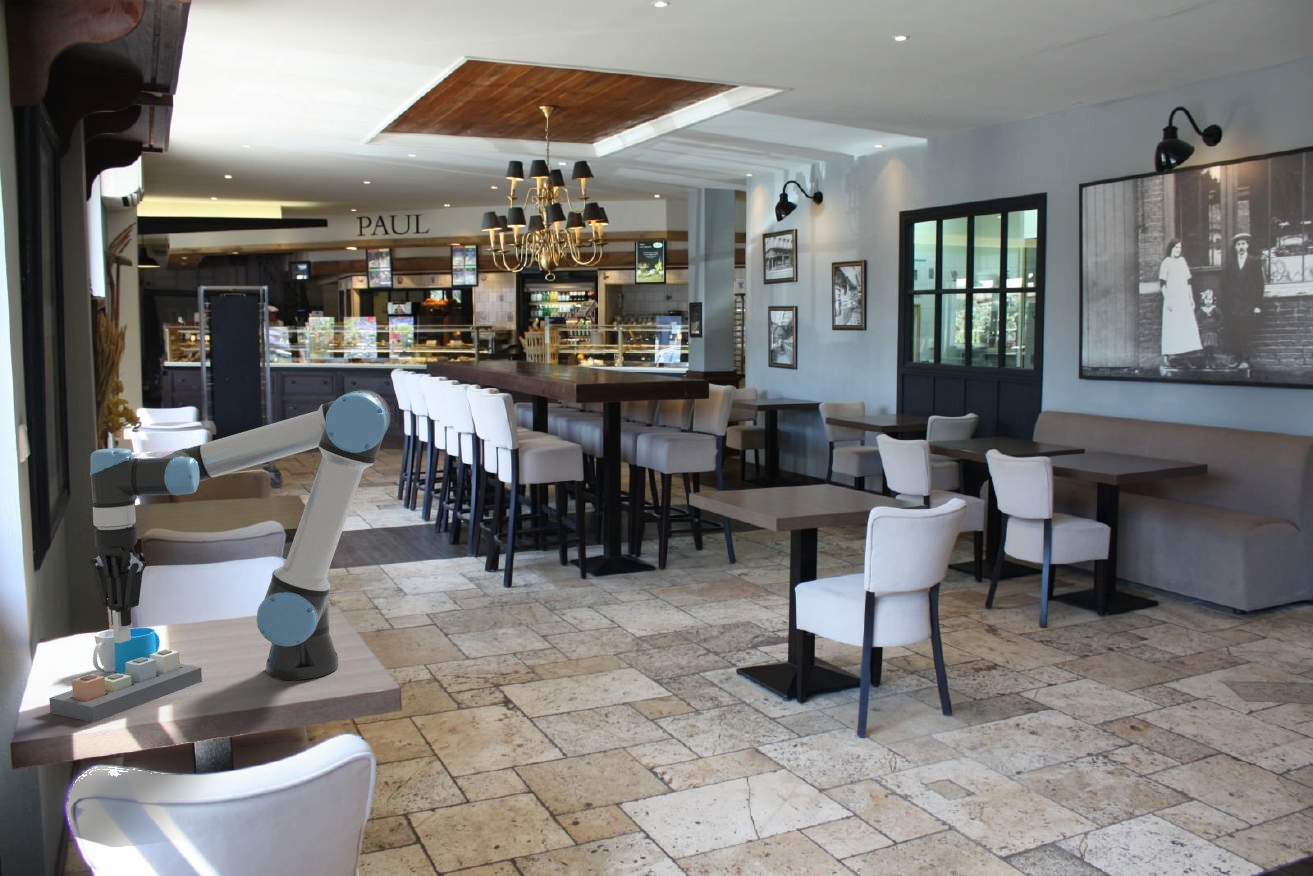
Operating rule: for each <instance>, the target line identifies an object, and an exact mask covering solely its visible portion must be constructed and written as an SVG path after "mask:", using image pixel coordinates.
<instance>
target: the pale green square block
mask: <svg viewBox="0 0 1313 876" xmlns="http://www.w3.org/2000/svg"><path fill="white" fill-rule="evenodd" d="M104 677H105V690H106V691H111V692H116V691H119V690H121V689H124V688H127V687H130V686H132V684H131V676H129V675H124V674H118V673H116V672H115V673H114V674H111V675H108V676H104Z"/></svg>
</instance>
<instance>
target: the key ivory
mask: <svg viewBox="0 0 1313 876" xmlns="http://www.w3.org/2000/svg"><path fill="white" fill-rule="evenodd" d="M150 659H154V660H156V673H161V674H166V673H169V672H172V671H175V670H178V669H180V664H181V661H180V659H181V658H180V651H177V650H171V649H163V650H160V651H159V650H158V652H156V653H153V654H150Z"/></svg>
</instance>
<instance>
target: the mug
mask: <svg viewBox="0 0 1313 876" xmlns="http://www.w3.org/2000/svg"><path fill="white" fill-rule="evenodd" d="M130 632H131V640H128V641H125V642H122V643H115V671H114V672H115V674H116V673H118V674H121V673H124V672H126V668H125V663H126V662H129V661H132V660H135V659H138V658H141V657H143V658H149V659H150V654H153V653H156V652H159V650H160V649H159V648H160V642H161V641H160V637H159V634H158V633H157V632H156V631H155V629H154V628H151V627H133V628H130Z"/></svg>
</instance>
